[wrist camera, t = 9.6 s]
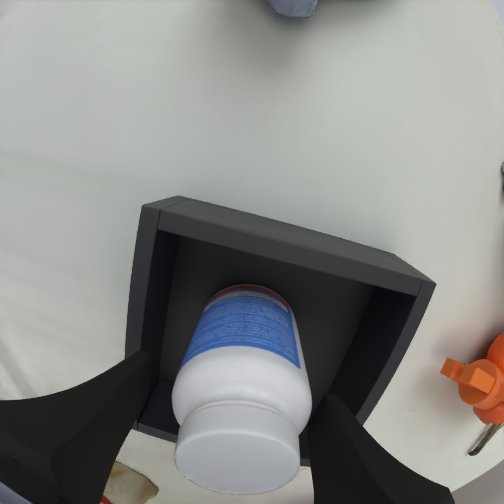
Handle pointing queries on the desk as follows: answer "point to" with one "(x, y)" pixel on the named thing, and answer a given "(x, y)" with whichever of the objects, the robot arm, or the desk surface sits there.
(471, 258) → the desk surface
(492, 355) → the orange toy bird
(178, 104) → the desk surface
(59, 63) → the desk surface
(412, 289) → the waste bin
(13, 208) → the desk surface
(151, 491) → the chocolate bunny
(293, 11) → the figurine
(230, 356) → the pill bottle
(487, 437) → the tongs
